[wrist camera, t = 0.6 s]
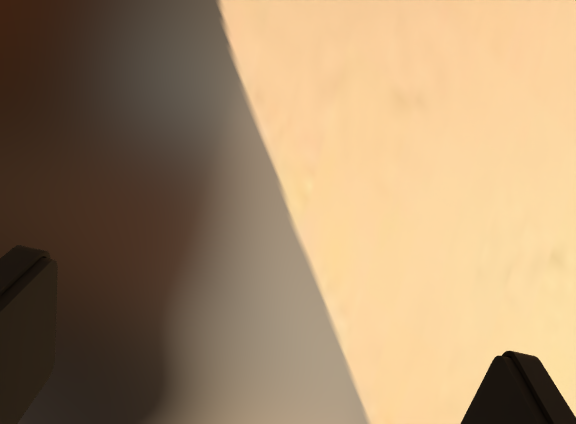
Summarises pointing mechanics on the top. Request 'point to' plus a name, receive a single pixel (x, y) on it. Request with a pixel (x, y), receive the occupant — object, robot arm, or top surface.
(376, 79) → the top surface
